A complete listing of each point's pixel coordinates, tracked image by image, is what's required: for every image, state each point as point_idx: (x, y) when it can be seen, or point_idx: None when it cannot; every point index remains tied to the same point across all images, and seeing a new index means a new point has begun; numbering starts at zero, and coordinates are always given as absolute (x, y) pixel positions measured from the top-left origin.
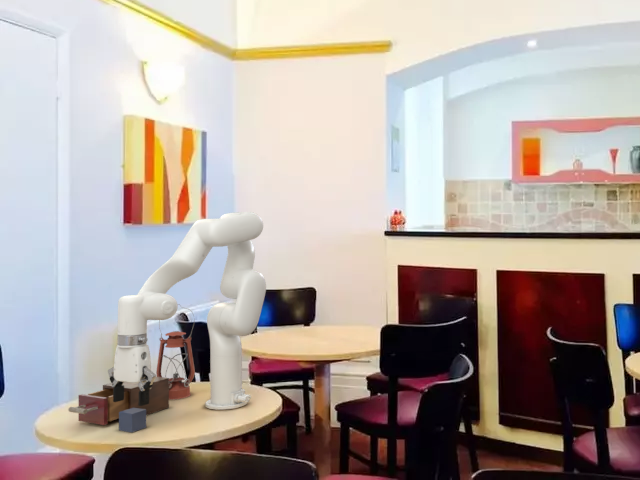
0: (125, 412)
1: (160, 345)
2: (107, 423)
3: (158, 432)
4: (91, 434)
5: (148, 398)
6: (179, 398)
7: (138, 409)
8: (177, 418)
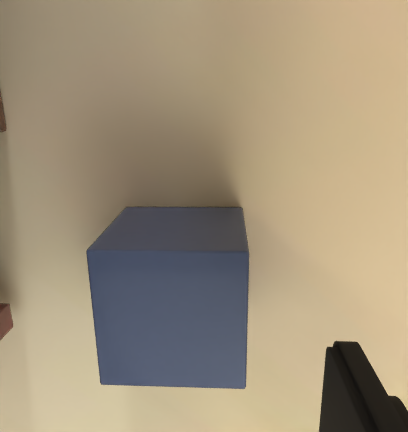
0: (160, 378)
1: None
2: (7, 304)
3: (395, 249)
4: (63, 403)
5: (406, 415)
6: None
7: (184, 279)
8: None
